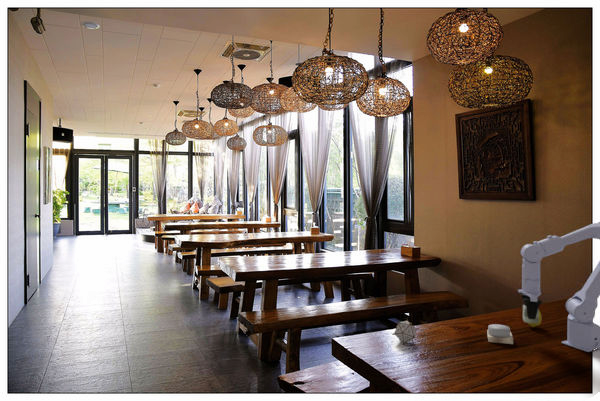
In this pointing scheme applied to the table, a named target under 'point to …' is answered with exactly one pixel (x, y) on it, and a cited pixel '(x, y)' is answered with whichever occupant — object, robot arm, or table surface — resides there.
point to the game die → (405, 331)
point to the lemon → (536, 323)
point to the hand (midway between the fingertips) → (530, 316)
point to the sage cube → (526, 319)
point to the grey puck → (499, 330)
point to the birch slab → (500, 339)
